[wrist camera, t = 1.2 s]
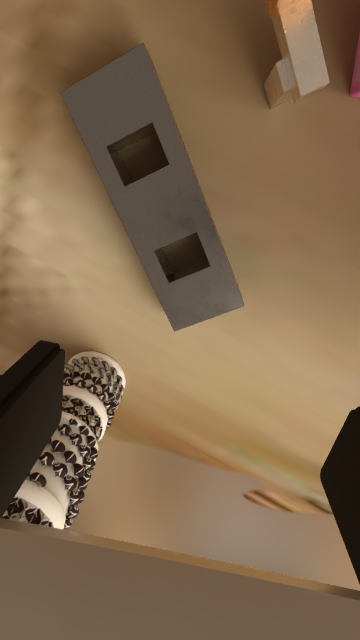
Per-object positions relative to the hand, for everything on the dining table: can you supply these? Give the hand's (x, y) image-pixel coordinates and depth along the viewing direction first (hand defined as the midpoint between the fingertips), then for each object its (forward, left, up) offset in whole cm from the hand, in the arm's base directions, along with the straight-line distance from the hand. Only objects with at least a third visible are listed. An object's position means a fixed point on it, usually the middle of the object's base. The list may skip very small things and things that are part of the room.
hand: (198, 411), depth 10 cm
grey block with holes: (+2, -6, -27) cm, 28 cm away
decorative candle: (+20, +10, -28) cm, 36 cm away
